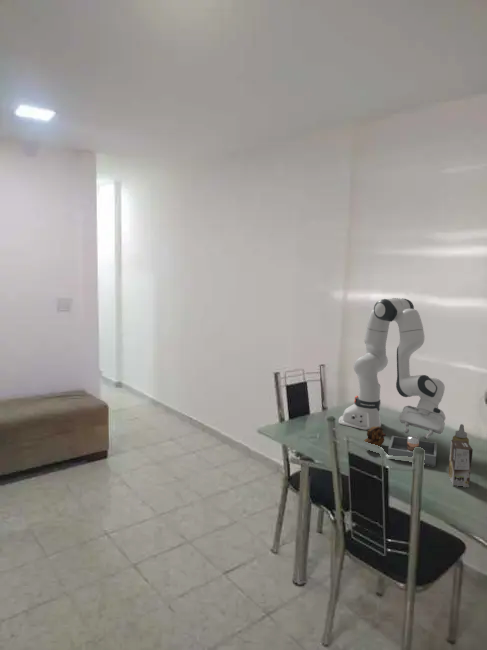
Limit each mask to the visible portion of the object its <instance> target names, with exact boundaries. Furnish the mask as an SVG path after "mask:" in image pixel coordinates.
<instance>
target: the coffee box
mask: <svg viewBox="0 0 487 650" xmlns="http://www.w3.org/2000/svg"><path fill="white" fill-rule="evenodd" d="M473 451H474V449H473V448H472V446H471V445H470V443H469V444H468V442H467V441H454V440H452V439H451V440H450V449H449V454H450V455H449V458H448V472H447V474H448V475H447V476H449V477H448V479H449V478H450V479H449V480H451V481H450V482H452V483H451V485H452V484H453V485H458V486H463V487H462V488H466V487H470V483H471V482H470V480H471V470H472V461H473ZM453 485H452V486H453ZM458 486H457V487H458Z"/></svg>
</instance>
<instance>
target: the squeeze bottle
mask: <svg viewBox="0 0 487 650" xmlns="http://www.w3.org/2000/svg"><path fill="white" fill-rule="evenodd" d="M451 440H454V441H467V442H468V444H469V445H470V440H469V438H468V433H467V432H466V431H465V427H464V424H463V423H461V424H460V426H459V429H458V430H456V431H455V435H453V436H452V439H451ZM449 456H450V453H449Z"/></svg>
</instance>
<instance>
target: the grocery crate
mask: <svg viewBox="0 0 487 650" xmlns="http://www.w3.org/2000/svg"><path fill="white" fill-rule="evenodd" d="M407 439H408V437H403V436H396V435H391V438H390V441H389V444H388V451H387V455H388V454H389V455H393V456H408V457H412V456H413V452H412V451H407ZM437 444H438V442H434V441H427V440H423V439H422V440H421V439H419V447H421V448H423V449H424V450H425V460H424V463H425V465H429V466H428V467H431V466H434V467H433V468H436V463H437V462H436V461H437V448H438V445H437ZM397 461H398V462H405V463H410V464H413V463H412V462H409V461H401V460H397ZM425 465H424V466H425Z"/></svg>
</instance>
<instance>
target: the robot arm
mask: <svg viewBox="0 0 487 650" xmlns="http://www.w3.org/2000/svg"><path fill="white" fill-rule="evenodd" d="M391 322H395V323H397V326H398V333H399V344H398V346H397V347H396V348H397V349H396V373H397V374H396V381H395V382H396V383H395V384H396V385H395V387H396V390H397V392H398V394H399V395H400V396H401V397H403V398H410V397H417V396H418V397H419V401H418V403H417V404H416V407H415V406H411V405H405V406H404V407H403V409H402V411H401V413H400V415H399V416H398V419H399V422H400V423H402V424H403V425H404V430H403V431H404V432H403V433H404V434H409V432H410V429H409V426H411V427H413V428H418V429H422V430H425V431H428V433H424V436H423V438H424V439H426V440H428V439H429V437H430V436H432V435H434V433H435V434H438V435H441V434H442V433H443V432H444V430H445V425H446V423H445V420H446V415H445V413H444V410H442V409H440V408H439V405H440V403H441V402H442V399H443V397H444V393H445V384H444V382H443V381H442V380H440V379H439V378H435V377H433V378H432V377H430V376H428V375H426V374H417V375H411V374H410V373H411V371H410V358H411V356H412V354H413V353H415V352H416V351H418V350H419V349H420V348H421V347H422V346H423V345H424V342H425V331H424V326H423V322H422V318H421V315H420V313H419V311H418V310H417V309H415V307H414V304H413V302H412V301H411V300H409V299H407V298H400V297H399V298H398V297H393V298H392V297H391V298H387V299H386V298H384V299H380V300H378V301H377V302H376V303H375V304H374V305H373V308H372V309H371V311H370V314H369V317H368V319H367V322H366V328H365V334H364V339H363V340H364V341H363V342H364V344H365V347H366V348H365V349H366V350H365V354H364V355H361V356H359V357H358V358H357V359H356V360H355V361H354V363H353V370H354V373H355V374H356V375H357V379H358V395H356V396H355V397H354V403H353V404H352V405H349V406H348V407H347V408H345V409H344V411H343V414H342V415H341V416H339V418H338V424H340V425H343V426H347V427H352V428H357V429H360V430H364V431H368V430H369V429H370V428H371V427H373V426H376V427H378V426H379V427H382V422H381V417H380V416H381V415H380V410H381V383H379V380H378V373H379V372H382V371H383V370H384V369H385V368H386V367H387V366H388V363H389V362H388V361H389V360H388V357H387V349H386V345H387V338H388V335H389V334H388V333H389V329H390V323H391Z"/></svg>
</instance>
